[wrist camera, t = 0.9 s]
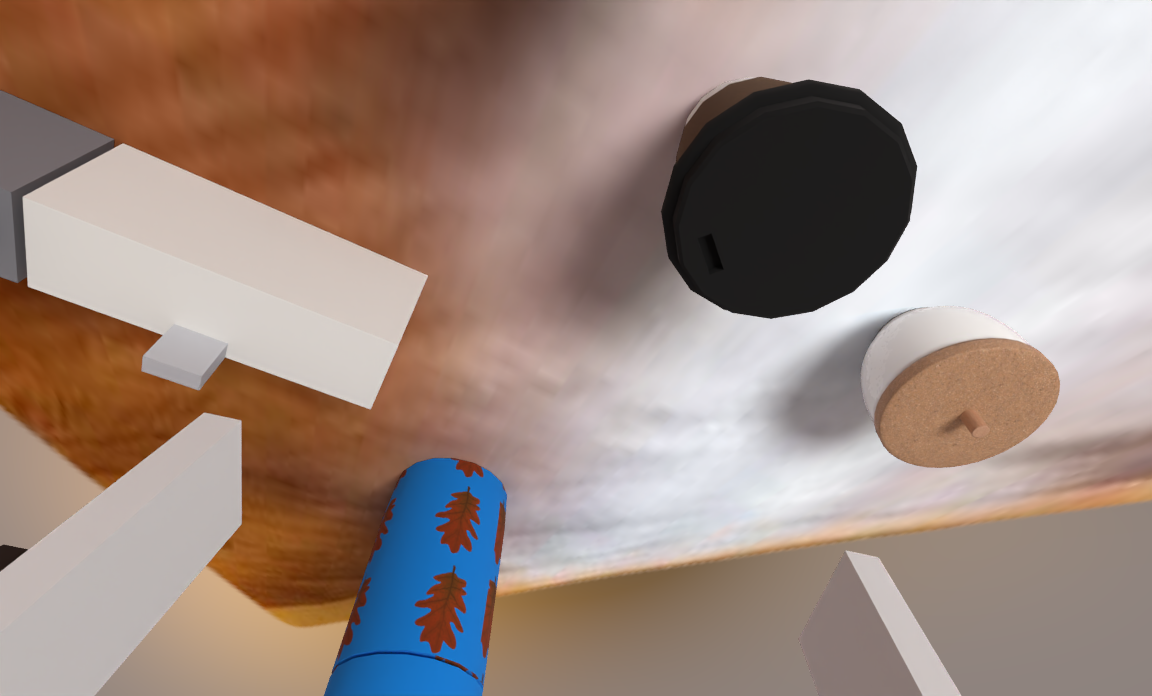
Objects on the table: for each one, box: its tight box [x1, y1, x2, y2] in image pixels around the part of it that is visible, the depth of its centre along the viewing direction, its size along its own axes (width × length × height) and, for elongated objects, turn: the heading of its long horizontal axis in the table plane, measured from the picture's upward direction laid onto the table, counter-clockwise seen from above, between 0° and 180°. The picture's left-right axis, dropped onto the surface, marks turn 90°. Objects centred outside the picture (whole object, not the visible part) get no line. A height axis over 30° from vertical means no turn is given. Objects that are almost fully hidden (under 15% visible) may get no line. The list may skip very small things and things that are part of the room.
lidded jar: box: [861, 306, 1060, 468], centre depth 40 cm, size 11×11×9 cm
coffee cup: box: [661, 77, 917, 319], centre depth 30 cm, size 11×11×12 cm
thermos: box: [324, 458, 507, 696], centre depth 46 cm, size 11×11×25 cm
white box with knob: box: [0, 90, 428, 409], centre depth 35 cm, size 6×26×11 cm, turn 62°
